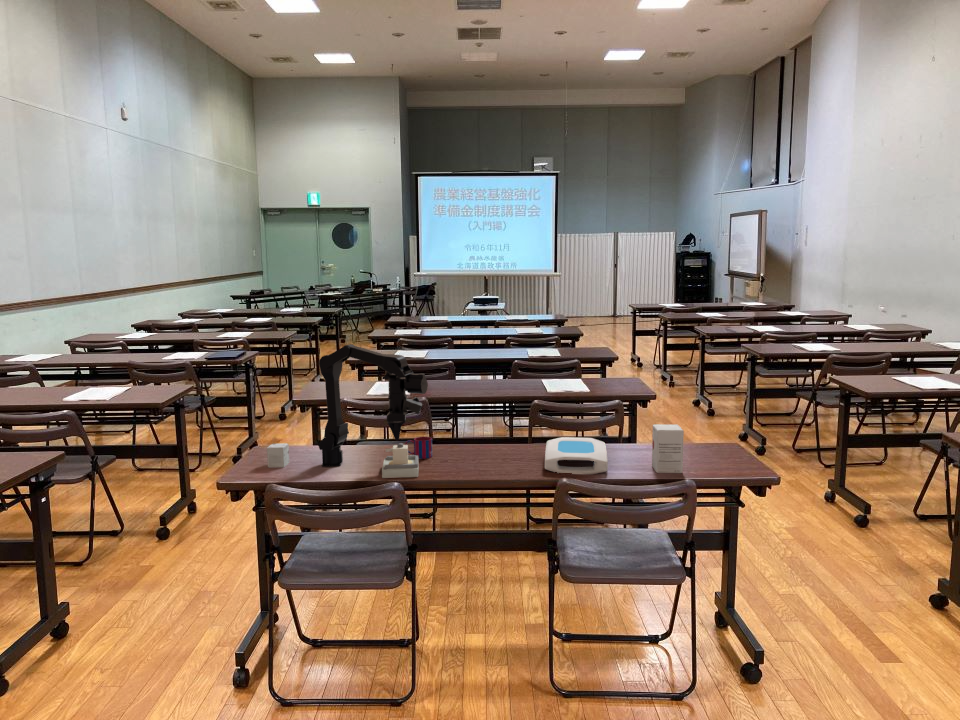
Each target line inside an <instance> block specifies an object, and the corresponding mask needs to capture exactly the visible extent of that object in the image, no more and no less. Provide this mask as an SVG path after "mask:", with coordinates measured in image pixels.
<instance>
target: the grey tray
mask: <svg viewBox="0 0 960 720" xmlns="http://www.w3.org/2000/svg"><path fill="white" fill-rule="evenodd" d="M419 461H420V460H419V459H418V456H416V455H414V454H408V464H393V455H386V457H384V460H383V462H382V468H381V478H382V479H390V478H392V479H395V478H418V477H419V469H420V468H419V465H420V464H419Z"/></svg>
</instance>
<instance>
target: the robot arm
mask: <svg viewBox="0 0 960 720" xmlns="http://www.w3.org/2000/svg"><path fill="white" fill-rule="evenodd" d="M349 358H352V359H355V360H358V361H362V362H365V363H369V364H373V365H376V366H378V367H379V368H381V369H382V370H384V371H386V373H385V375H383V376H382V380H388V397H387V399H388V413H387V415H386V423H387V424H388V426H389V429H390V431H391V433H392V435H393V438H394V440H395V441H399V440H400V435H401V431H402V426H403V425H404V424H406V422H407V421H406V420H407V418H406V417H407V415H408V411H409V412H412V413H414V414H417V415H420V413H421V409H422V407H423V403H422V402H420V398H419V397H416V396H415V397H413V398H408V397H407V396H408V395H407V394H406V392H407V393H409V394H419V395H420V394H421V395H423V394H426V393H427V391H428V384H429V383H428V380H427V378H426V374H425V373H414V371H413V370H412V368H411V367H410V365H409V364H408V361H407V358H406V357H405V356H404V355H401V354H391V353H388V354H387V353H381V352H378V351H374V350H370V349H367V348H363V347H360V346H358V345H354V344H351V343H350V344H345V345H343V346H342V347H341V348H339V349H337V350H335V351H333V352H332V353H329V354H326V355H325V354H324V355H322V356H321V357H320V359H319V360H318V366H319V370H320V374H321V376H322V377H323V379H324V383H325V398H326V399H325V400H326V410H327V422H326V424H325V427H324V435H323V436H324V437H322V439H321V440H320V442H318V443H317V446H318V448H319V450H320V451H321V454H322V455H321V456H322V457H321V458H322V459H321V460H322V464H321V467H340V466H342V465H341V464H343V462H344V461H343V459H344V456H343V454H344V451H343V450H342V449H341V448H342V447H341V446H343V444H344V443H345V441H346V440H347V438H348V435H349V434H350V433H349V423H348V422H344V420H343V417H342V406H341V405H342V404H341V391H340V377H341V374H342V371H343V363H345V362H346V361H348V359H349Z"/></svg>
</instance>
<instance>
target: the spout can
mask: <svg viewBox="0 0 960 720" xmlns="http://www.w3.org/2000/svg"><path fill="white" fill-rule="evenodd" d="M408 451H409V445H408V444H406V445H405V444H404V443H402V442H400V443H397V444H393V446H392V448H385V453H386V452H387V453H388V452H390V453H391V452H392V456H393V464H408V455H409V453H408Z"/></svg>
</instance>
